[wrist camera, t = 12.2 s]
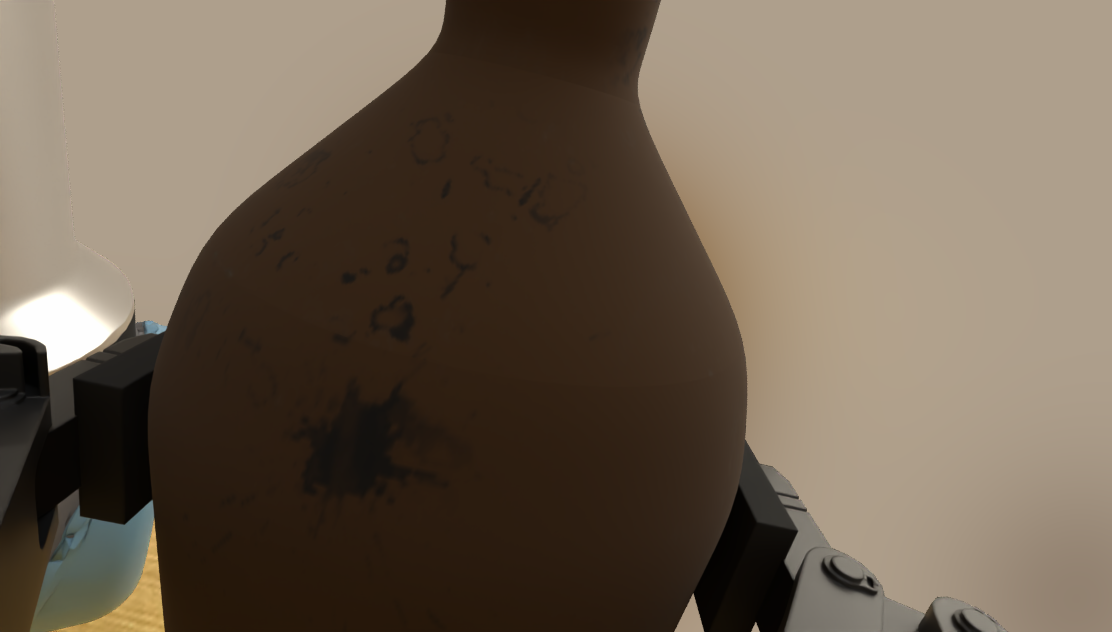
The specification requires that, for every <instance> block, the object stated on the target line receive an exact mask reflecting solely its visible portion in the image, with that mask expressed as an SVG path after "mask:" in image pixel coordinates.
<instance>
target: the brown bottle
mask: <svg viewBox="0 0 1112 632" xmlns="http://www.w3.org/2000/svg"><path fill="white" fill-rule="evenodd" d="M660 1H661V0H446V7H445V15H444V22H443V26H442V30H441V33H440V35H439V37H438V39H437V41H436V43H435V44H434V46H433V47H432V49H431V50H430V51H429V53H428V54H427V55H426V56H425V57H424V58H423V59H422V60H421V61H420V62H419V63H418V64H417V65H416V66H415V67H414V68H413V69H411V70H410V71H409V72H408V73H407V74H406V75H405V76H404V77H402V78H401V79H400V80H399V81H397V82H396V83H395V84H394V85H392V86H391V87H390V88H389V89H387V90H386V91H385V92H384V93H382V94H381V95H380V96H379V97H377V98H376V99H375V100H373V101H372V102H371V103H369V104H368V105H367V106H366V107H364V108H363V109H362V110H360V111H359V112H358V113H356V114H355V115H354V116H352V117H351V118H350V119H349V120H347V121H346V122H345V123H343V124H342V125H341V126H339V127H338V128H337V129H336V130H334V131H333V132H332V133H330V134H329V135H328V136H326V138H324V139H323V140H321V141H320V142H319V143H317V144H316V145H315V146H313V147H312V148H311V149H309V150H308V151H307V152H306V153H304V154H303V155H302V156H300V157H299V158H298V159H296V160H295V161H294V162H292V163H291V164H290V165H289V166H287V167H286V168H285V169H283V170H282V171H281V172H280V173H278V174H277V175H276V176H274V177H273V178H272V179H271V180H269V181H268V182H267V183H266V184H264V185H263V186H262V187H261V188H259V189H258V190H257V191H256V192H254V193H253V194H252V195H251V196H250V197H249V198H247V199H246V200H245V201H244V202H243V203H242V204H241V205H240V206H239V207H237V209H235V210H234V211H233V212H232V213H231V214H230V215H229V217H227V219H226V220H225V221H224V222H223V223H222V224H221V225H220V226H219V227H218V228H217V229H216V231H215V232H214V233H213V235H212V236H211V238H210V239H209V240H208V242H207V243H206V244H205V246H204V247H203V249H202V250H201V252H200V254H199V256H198V258H197V259H196V261H195V263H194V265H193V267H192V269H191V270H190V273H189V275H188V277H187V279H186V281H185V284H184V286H183V288H182V290H181V293H180V295H179V298H178V300H177V303H176V305H175V308H174V310H173V313H172V315H171V318H170V321H169V323H168V326H167V329H166V331H165V334H164V337H163V340H162V343H161V346H160V349H159V353H158V356H157V359H156V363H155V367H154V372H153V377H152V382H151V387H150V397H149V408H148V449H149V464H150V476H151V487H152V498H153V509H154V519H155V530H156V541H157V552H158V562H159V573H160V584H161V595H162V606H163V616H164V627H165V632H674V631H675V629H676V627H677V625H678V623H679V621H680V619H681V617H682V614H683V613H684V610H685V608H686V607H687V604H688V603H689V600H690V598H691V596H692V594H693V592H694V590H695V588H696V586H697V584H698V582H699V580H700V578H701V576H702V574H703V572H704V570H705V568H706V566H707V564H708V562H709V560H710V558H711V556H712V554H713V552H714V550H715V547H716V545H717V543H718V541H719V539H720V537H721V534H722V532H723V530H724V527H725V525H726V522H727V520H728V517H729V514H730V512H731V509H732V505H733V502H734V499H735V496H736V493H737V489H738V484H739V479H740V475H741V470H742V463H743V455H744V446H745V433H746V413H747V410H746V409H747V371H746V359H745V353H744V348H743V342H742V338H741V334H740V331H739V328H738V324H737V321H736V318H735V315H734V313H733V310H732V308H731V305H730V303H729V300H728V298H727V295H726V293H725V291H724V289H723V287H722V285H721V283H720V280H719V278H718V276H717V274H716V272H715V270H714V267H713V266H712V263H711V261H710V259H709V257H708V255H707V253H706V251H705V249H704V247H703V245H702V243H701V241H700V239H699V236H698V235H697V232H696V230H695V229H694V226H693V224H692V222H691V220H690V218H689V216H688V214H687V212H686V210H685V208H684V205H683V204H682V201H681V199H680V197H679V195H678V193H677V191H676V189H675V187H674V185H673V183H672V181H671V179H670V177H669V174H668V172H667V170H666V168H665V166H664V164H663V162H662V160H661V158H660V156H659V154H658V151H657V149H656V147H655V145H654V142H653V140H652V138H651V135H650V133H649V131H648V128H647V126H646V123H645V120H644V117H643V114H642V111H641V108H640V104H639V98H638V77H639V72H640V68H641V65H642V61H643V58H644V55H645V51H646V48H647V45H648V42H649V38H650V35H651V32H652V28H653V25H654V22H655V18H656V15H657V12H658V8H659V5H660Z"/></svg>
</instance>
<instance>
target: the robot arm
mask: <svg viewBox="0 0 1112 632" xmlns="http://www.w3.org/2000/svg"><path fill="white" fill-rule="evenodd" d="M166 329H167V326H162V325H159V324H157V323H155V322H153V321H144V322H139V323H138V322H137V323H135V300H134V296H133V291H132V287H131V284H130V282H129V279H128V278H127V276H126V275H125V274H124V273H123V272H122V271H121V269H120V268H118V267H117V266H116V265H115V264H113V263H112V262H111V261H110V260H108V259H107V258H105V257H103V256H102V255H100V254H98V253H97V252H95V251H94V250H92V249H90V248H89V247H87V246H85V245H84V244H82V243H80V242H79V241H77V240H75V236H74V224H73V213H72V201H71V190H70V178H69V167H68V155H67V143H66V132H65V120H64V108H63V97H62V86H61V74H60V63H59V51H58V39H57V27H56V16H55V4H54V0H0V632H49V631H54V630H58V629H62V628H66V627H71V626H75V625H79V624H83V623H87V622H91V621H94V620H96V619H99V618H101V617H103V616H105V615H107V614H109V613H110V612H112V611H113V610H115V609H116V608H117V607H119V606H120V605H121V604H122V603H123V602H124V601H125V600H126V599H127V598H128V597H129V596H130V595H131V593H132V592H133V591H134V589H135V588H136V586H137V584H138V582H139V580H140V578H141V575H142V572H143V568H144V564H145V560H146V556H147V551H148V547H149V542H150V537H151V532H152V527H153V521H154V509H153V498H152V487H151V476H150V464H149V449H148V408H149V397H150V387H151V382H152V377H153V372H154V367H155V363H156V359H157V356H158V353H159V349H160V346H161V343H162V340H163V337H164V334H165V331H166ZM693 593H694V597H695V600H696V604H697V607H698V611H699V614H700V618H701V621H702V625H703V629H704V632H751V631H752V628H753V626H754V624H755V622H756V623H757V626H758V628H759V631H760V632H1008V631H1006V630H1005V629H1004V628H1003V627H1002V626H1001V625H1000V624H999V623H998V622H997V621H996V620H995V619H994V618H992V617H991V616H990V615H988V614H985V612H983V611H982V610H980V609H979V608H977V607H973V606H971V605H969V604H967V603H965V602H963V601H960V600H957V599H954V598H950V597H937V598H936V599H935V600H934V601H933V602H932V604H931V605H930V607H929V609H928V610H927V612H926V614H924V613H921V612H919V611H917V610H914V609H912V608H910V607H908V606H905V605H903V604H901V603H898V602H896V601H893V600H891V599H889V598H887V597H885V595H884V591H883V588H882V585H881V584H880V582H879V581H878V580H877V578H876V577H875V575H874V574H873V573H871V572H870V571H869V570H868V569H867V568H866V567H865V566H864V565H863V564H861V563H860V562H858V561H857V560H855V559H854V558H852V557H850V556H849V555H847V554H845V553H842V552H840V551H838V550H835V549H833V548H831V546H830V545H829V543H828V542H827V540H826V539H825V537H824V535H823V534H822V533H821V531H820V529H819V528H818V526H817V525H816V523H815V522H814V520H813V518H812V517H811V515H810V514H809V513H808V512H807V509H806V507H805V506H804V504H803V502H802V501H801V500H799V496H798V495H797V493H796V492H795V490H794V488H793V487H792V485H791V484H790V482H789V481H788V480H787V479H786V478H785V477H784V476H782V475H781V474H780V473H779V472H778V471H777V470H776V469H775V468H774V467H772V466H768V465H763V464H759V462H758V461H757V459H756V457H755V455H754V454H753V452H752V450H751V449H750V447H749V445H748V444H747V442H746V440H745V446H744V455H743V463H742V470H741V475H740V479H739V484H738V489H737V493H736V496H735V499H734V502H733V505H732V509H731V512H730V514H729V517H728V520H727V522H726V525H725V527H724V530H723V532H722V534H721V537H720V539H719V541H718V543H717V545H716V547H715V550H714V552H713V554H712V556H711V558H710V560H709V562H708V564H707V566H706V568H705V570H704V572H703V574H702V576H701V578H700V580H699V582H698V584H697V586H696V588H695V590H694V592H693Z"/></svg>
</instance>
